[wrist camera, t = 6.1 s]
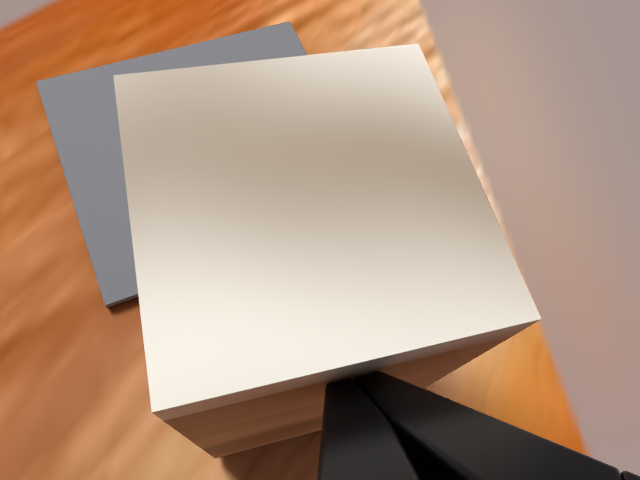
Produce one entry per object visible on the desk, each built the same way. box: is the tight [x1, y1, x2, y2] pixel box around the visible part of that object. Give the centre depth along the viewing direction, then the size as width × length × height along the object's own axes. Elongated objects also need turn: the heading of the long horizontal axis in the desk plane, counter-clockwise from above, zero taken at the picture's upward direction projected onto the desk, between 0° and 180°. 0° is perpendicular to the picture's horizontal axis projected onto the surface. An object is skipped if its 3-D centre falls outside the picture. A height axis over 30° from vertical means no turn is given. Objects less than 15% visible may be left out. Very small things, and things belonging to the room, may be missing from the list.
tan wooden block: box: [113, 44, 541, 458], centre depth 12 cm, size 5×5×10 cm
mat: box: [36, 21, 307, 308], centre depth 19 cm, size 9×10×1 cm
